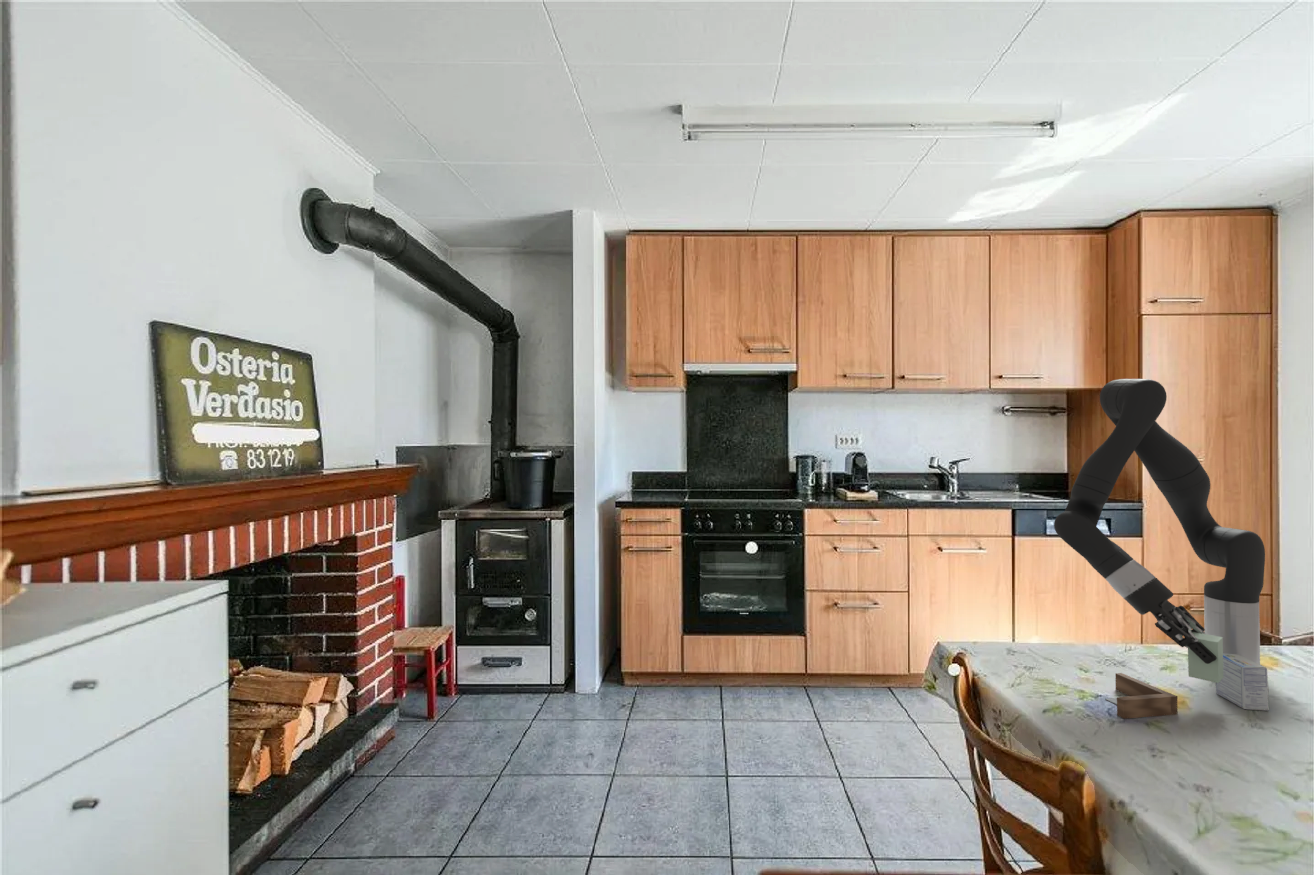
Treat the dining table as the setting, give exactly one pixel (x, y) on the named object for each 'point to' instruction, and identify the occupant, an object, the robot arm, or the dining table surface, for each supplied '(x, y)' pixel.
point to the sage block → (1199, 667)
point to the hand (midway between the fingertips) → (1214, 657)
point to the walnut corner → (1142, 699)
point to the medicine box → (1244, 683)
